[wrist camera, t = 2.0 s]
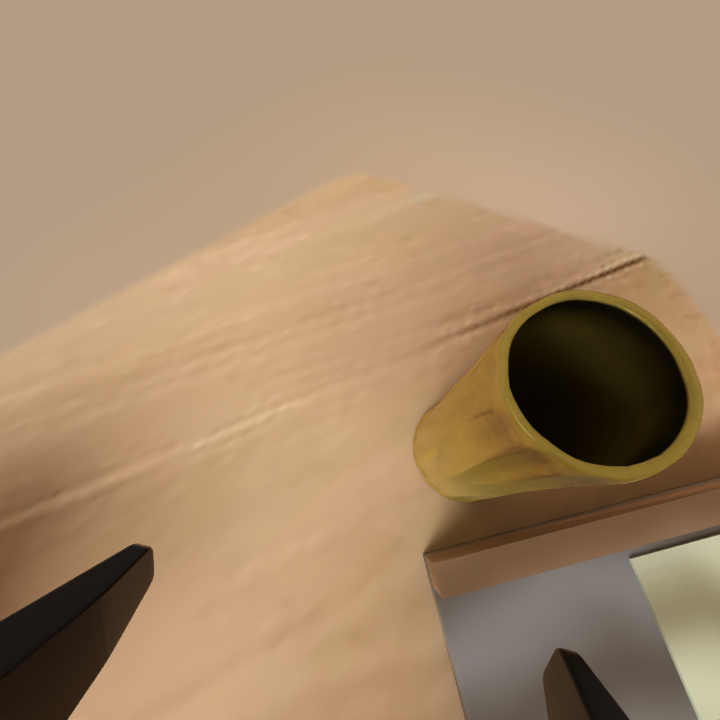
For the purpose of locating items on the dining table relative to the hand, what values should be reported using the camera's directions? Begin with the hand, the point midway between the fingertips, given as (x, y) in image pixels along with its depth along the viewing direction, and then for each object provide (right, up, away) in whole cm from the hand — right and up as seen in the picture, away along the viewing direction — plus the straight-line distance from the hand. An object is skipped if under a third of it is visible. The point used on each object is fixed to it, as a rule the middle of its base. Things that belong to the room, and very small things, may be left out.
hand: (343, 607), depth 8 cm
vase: (+7, 0, +15) cm, 16 cm away
